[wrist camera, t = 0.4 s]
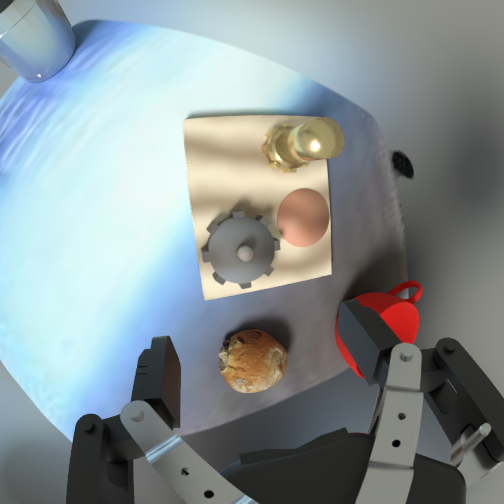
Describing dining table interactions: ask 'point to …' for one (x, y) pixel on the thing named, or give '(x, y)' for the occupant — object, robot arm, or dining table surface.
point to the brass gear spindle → (302, 144)
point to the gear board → (253, 207)
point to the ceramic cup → (388, 316)
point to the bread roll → (252, 361)
